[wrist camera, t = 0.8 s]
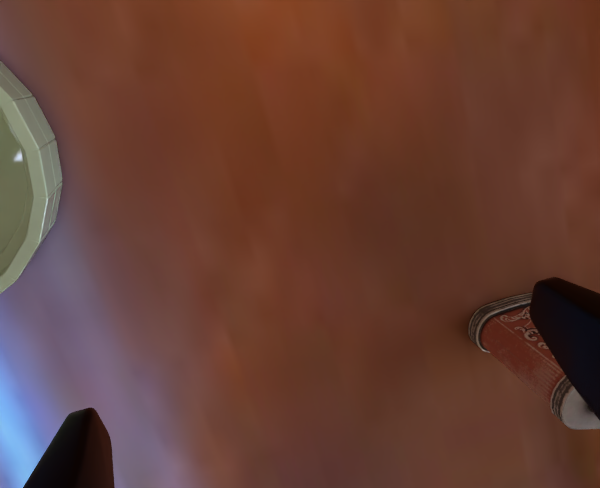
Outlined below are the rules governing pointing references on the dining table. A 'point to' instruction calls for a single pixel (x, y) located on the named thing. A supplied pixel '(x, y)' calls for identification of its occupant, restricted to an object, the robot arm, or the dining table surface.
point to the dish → (24, 177)
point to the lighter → (529, 357)
